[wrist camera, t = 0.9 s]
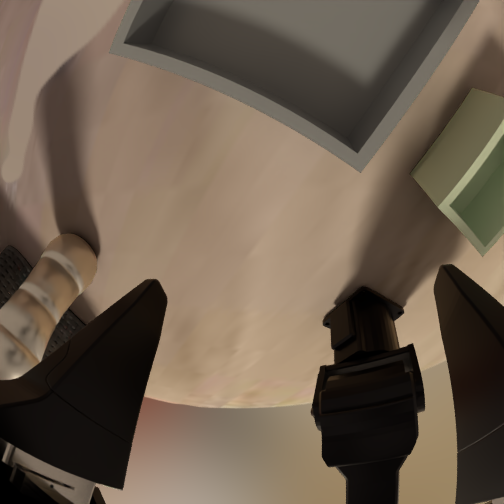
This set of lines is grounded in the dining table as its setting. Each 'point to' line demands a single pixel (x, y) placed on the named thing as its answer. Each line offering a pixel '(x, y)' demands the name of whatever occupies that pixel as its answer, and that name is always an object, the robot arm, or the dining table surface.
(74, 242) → the plastic bottle
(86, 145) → the dining table surface
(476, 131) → the small crate
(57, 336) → the storage bin
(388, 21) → the large crate
